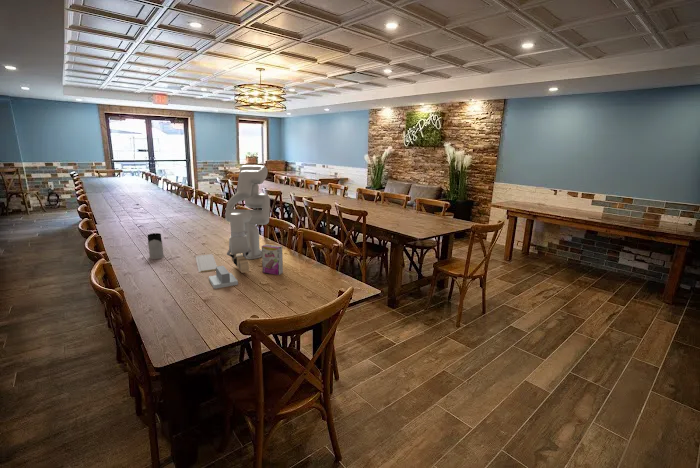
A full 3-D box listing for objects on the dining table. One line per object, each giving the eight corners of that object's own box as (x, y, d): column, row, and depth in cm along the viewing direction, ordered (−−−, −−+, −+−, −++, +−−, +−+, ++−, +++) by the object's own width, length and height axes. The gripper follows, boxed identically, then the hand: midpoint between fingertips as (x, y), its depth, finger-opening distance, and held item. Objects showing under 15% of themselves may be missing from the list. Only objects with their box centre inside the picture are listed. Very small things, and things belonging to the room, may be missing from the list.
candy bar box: (262, 273, 200) (260, 246, 196) (266, 270, 204) (265, 243, 201) (278, 275, 196) (278, 248, 192) (283, 273, 201) (282, 246, 197)
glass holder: (148, 259, 218) (145, 236, 214) (150, 253, 230) (148, 231, 227) (163, 258, 221) (161, 235, 218) (165, 252, 234) (163, 230, 230)
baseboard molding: (196, 273, 198) (218, 271, 203) (195, 269, 197) (217, 266, 202) (193, 258, 225) (212, 256, 230) (192, 254, 224) (212, 252, 229)
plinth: (231, 276, 194) (230, 264, 192) (238, 284, 182) (237, 272, 181) (208, 279, 188) (207, 267, 186) (214, 288, 176) (213, 275, 174)
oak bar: (231, 260, 209) (231, 251, 207) (238, 259, 211) (237, 250, 210) (241, 272, 191) (241, 262, 190) (248, 271, 193) (248, 261, 192)
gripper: (250, 230, 203) (252, 259, 208) (221, 234, 195) (223, 264, 200) (254, 233, 197) (256, 263, 202) (224, 237, 189) (226, 268, 194)
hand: (239, 263), depth 201 cm, fingers closed on oak bar, 4 cm apart
